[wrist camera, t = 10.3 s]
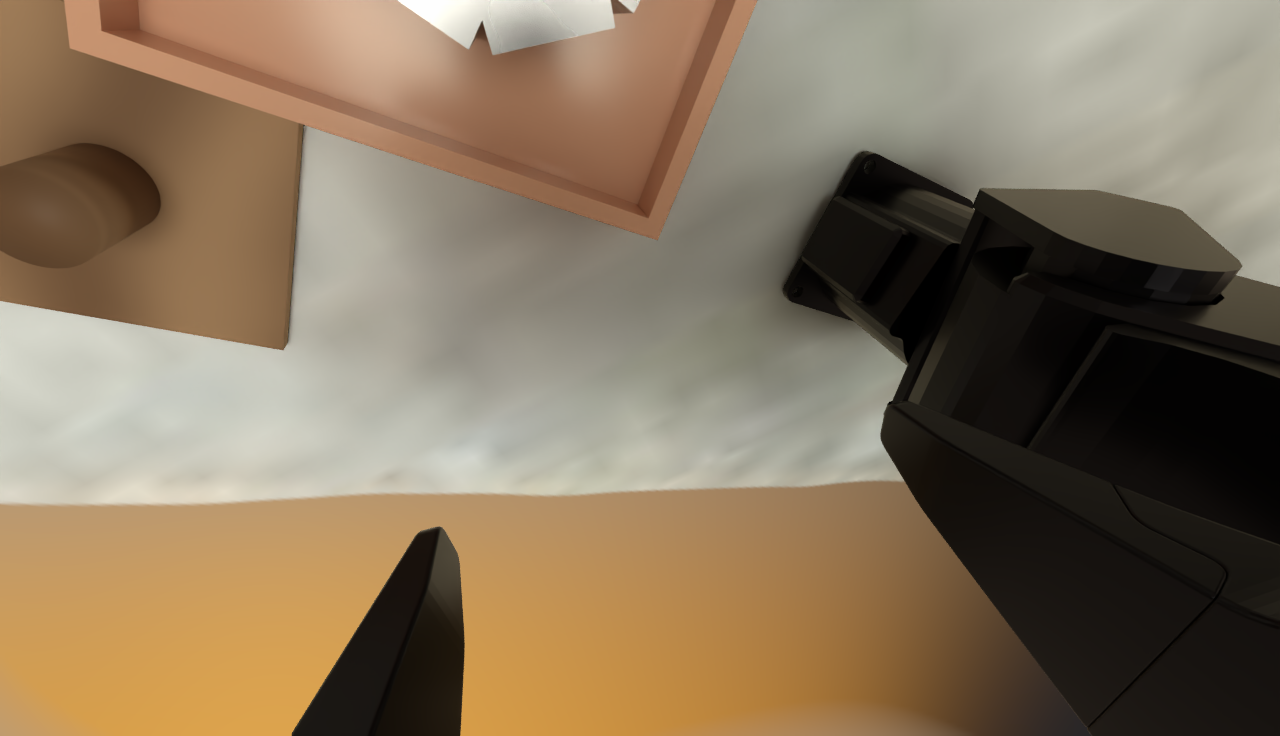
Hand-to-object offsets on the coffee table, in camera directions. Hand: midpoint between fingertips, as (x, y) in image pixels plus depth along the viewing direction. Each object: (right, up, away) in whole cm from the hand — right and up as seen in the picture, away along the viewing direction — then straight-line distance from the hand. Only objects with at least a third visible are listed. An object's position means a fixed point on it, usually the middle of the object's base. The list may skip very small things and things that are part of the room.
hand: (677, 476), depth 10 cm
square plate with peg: (-16, +8, +5) cm, 18 cm away
